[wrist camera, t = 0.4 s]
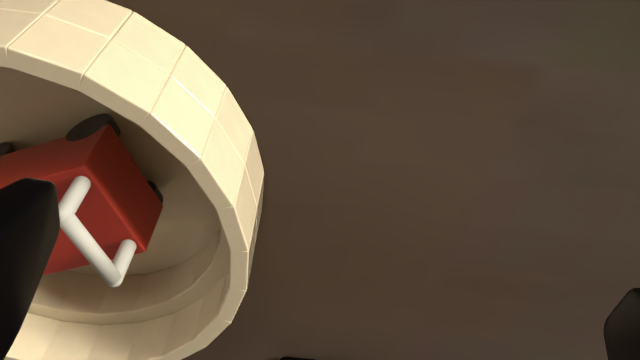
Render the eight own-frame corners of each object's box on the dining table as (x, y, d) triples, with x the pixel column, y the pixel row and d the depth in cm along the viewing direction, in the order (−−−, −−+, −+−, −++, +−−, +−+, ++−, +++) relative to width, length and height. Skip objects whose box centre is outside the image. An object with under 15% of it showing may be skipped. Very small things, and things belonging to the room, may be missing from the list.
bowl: (256, 300, 31) (242, 392, 26) (-52, 268, 30) (-120, 357, 26) (276, 5, 21) (257, 76, 16) (-187, -52, 20) (-335, 6, 16)
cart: (119, 106, 23) (59, 205, 18) (171, 188, 25) (129, 294, 21) (-22, 149, 24) (-112, 249, 20) (40, 222, 27) (-27, 327, 22)
